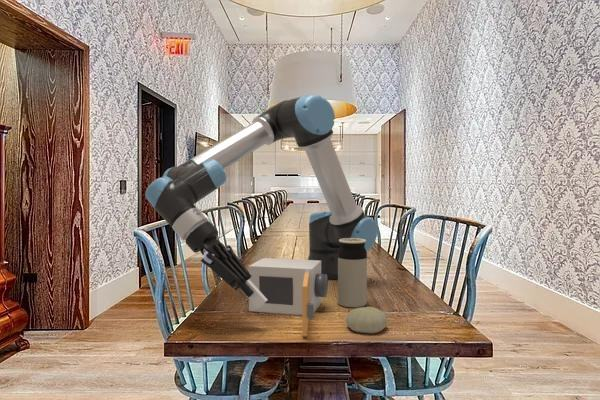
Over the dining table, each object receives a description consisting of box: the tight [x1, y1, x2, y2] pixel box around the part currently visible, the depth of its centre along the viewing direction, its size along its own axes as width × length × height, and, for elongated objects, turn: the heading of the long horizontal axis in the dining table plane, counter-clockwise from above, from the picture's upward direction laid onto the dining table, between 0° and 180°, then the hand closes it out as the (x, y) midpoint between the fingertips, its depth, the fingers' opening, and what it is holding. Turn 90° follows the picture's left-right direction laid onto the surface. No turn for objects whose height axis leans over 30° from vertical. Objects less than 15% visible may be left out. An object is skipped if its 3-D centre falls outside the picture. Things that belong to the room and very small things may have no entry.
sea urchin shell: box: [345, 306, 388, 334], centre depth 102 cm, size 9×8×8 cm
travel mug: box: [337, 238, 368, 309], centre depth 121 cm, size 8×8×18 cm
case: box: [248, 257, 329, 316], centre depth 118 cm, size 19×13×12 cm
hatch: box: [302, 273, 315, 337], centre depth 102 cm, size 14×2×11 cm, turn 177°
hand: (262, 304), depth 101 cm, fingers closed
